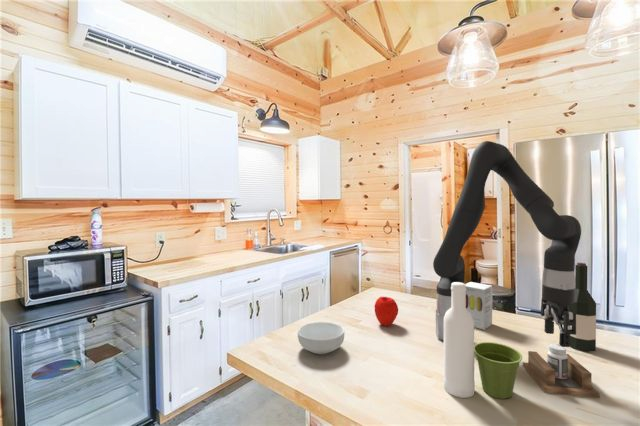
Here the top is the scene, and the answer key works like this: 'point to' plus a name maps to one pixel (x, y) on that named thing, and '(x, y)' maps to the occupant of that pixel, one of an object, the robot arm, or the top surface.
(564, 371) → the pill bottle
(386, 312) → the apple
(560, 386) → the cradle
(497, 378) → the plant pot
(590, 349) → the wine bottle
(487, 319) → the supplement box
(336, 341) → the cereal bowl
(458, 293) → the bottle
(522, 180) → the robot arm
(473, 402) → the top surface
